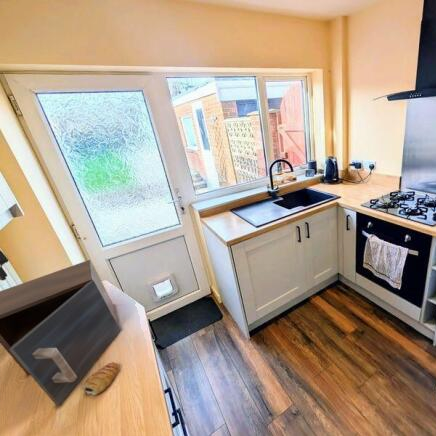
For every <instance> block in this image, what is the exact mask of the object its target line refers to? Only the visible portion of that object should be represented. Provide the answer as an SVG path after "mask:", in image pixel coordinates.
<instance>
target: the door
mask: <svg viewBox="0 0 436 436" xmlns="http://www.w3.org/2000/svg"><path fill="white" fill-rule="evenodd" d="M120 332H121V328H120V326H119V323H118V324H117V323H116V321H115V319H114V317H113V315H112V313H111V312H110V310H109V308H108V306H107V304H106V302H105V300H104V299H103V297H102V295H101V293H100V291H99V289H98V287H97V286H96V284H95V282H94V281H90V282H89V283H88V284H86V285H85V286H84V287H83V288H82V289H80V290H79V291H78V292H77V293H76V294H74V295H73V296H72V297H71V298H70V299H68V300H67V301H66V302H65V303H64V304H62V305H61V306H60V307H59V308H58V309H56V310H55V311H54V312H53V313H52V314H50V315H49V316H48V317H47V318H46V319H44V320H43V321H42V322H41V323H40V324H38V325H37V326H36V327H35V328H34V329H32V330H31V331H30V332H29V333H28V334H26V335H25V336H24V337H23V338H22V339H20V340H19V341H18V342H17V343H16V344H14V345H13V346H12V347H11V348H10V349H9V350H10V351H11V352H12V354H13V355H14V356H15V357H16V358H17V359H18V361H19V362H20V363H21V364H22V365H23V367H24V368H25V369H26V370H27V371H28V373H29V374H30V375H29V376H31V378H33V380H34V381H35V382H36V384H38V386H39V387H40V388H41V389H42V390H43V391H44V393H45V394H46V395H47V396H48V398H49V399H50V400H51V401H52V402H53V403H54V405H55V406H56V407H60V406H61V405H62V404H63V403H64V402H65V400H66V399H67V398H68V397H69V395H70V394H71V393H72V392H73V390H75V388H76V387H77V385H78V384H79V383H80V382H81V380H82V379H83V378H84V377H85V376H86V374H87V373H88V372H89V371H90V369H91V368H92V367H93V366H94V364H95V363H96V362H97V361H98V359H99V358H100V357H101V356H102V354H103V353H104V352H105V351H106V349H107V348H108V347H109V345H110V344H111V343H112V342H113V341H114V339H115V338H116V337H117V336H118V334H119V333H120Z"/></svg>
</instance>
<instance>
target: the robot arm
mask: <svg viewBox="0 0 436 436" xmlns="http://www.w3.org/2000/svg"><path fill="white" fill-rule="evenodd" d="M7 263H9V259H8V257H7V256H6V254H5V253H4V252H3V251H2V250H1V249H0V281H2V282H3V281H6V280H7V277H8V273H7V272H6V271H5V269H4V268H3V266H4V264H7Z"/></svg>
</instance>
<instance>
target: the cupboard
mask: <svg viewBox="0 0 436 436" xmlns="http://www.w3.org/2000/svg"><path fill="white" fill-rule="evenodd" d="M90 281H94V282H95V284H96V286H97V287H98V289H99V291H100V293H101V295H102V297H103V299H104V300H105V302H106V304H107V306H108V308H109V310H110V312H111V313H112V315H113V317H114V319H115V321H116V323H117V324H118V325H119V322H118V317H117V312H116V307H115V304H114V303H113V301H112V299H111V296H110V295H109V293H108V291H107V289H106V287H105V286H104V283H103V281H102V280H101V278H100V276H99V274H98V272H97V270H96V268H95V266H94V264H93V262H92V261H91V259H87V260H85V261H81V262H78V263H76V264H74V265H70V266H68V267H65V268H62V269H59V270H56V271H54V272H53V271H52V272H51V273H48V274H45V275H43V276H39V277H37V278H33V279H31V280H29V281H25V282H22V283H19V284H17V285H14V286H10V287H7V288H6V289H3V290H0V345H1V346H2V347H3V349H4V350H5V351H6V352H7V353H8V355H10V357H11V358H12V360H14V361H15V363H16V364H17V365H18V366H19V367H20V368H21V369H22V371H23V372H24V373H25V374H26V375H27V376H31V375H30V374H29V373H28V371H27V370H26V369H25V368H24V367H23V365H22V364H21V363H20V362H19V361H18V359H17V358H16V357H15V356H14V355H13V354H12V352H11V351H10V350H9V349H10V348H11V347H12V346H13V345H14V344H16V343H17V342H18V341H19V340H20V339H22V338H23V337H24V336H25V335H26V334H28V333H29V332H30V331H31V330H32V329H34V328H35V327H36V326H37V325H38V324H40V323H41V322H42V321H43V320H44V319H46V318H47V317H48V316H49V315H50V314H52V313H53V312H54V311H55V310H56V309H58V308H59V307H60V306H61V305H62V304H64V303H65V302H66V301H67V300H68V299H70V298H71V297H72V296H73V295H74V294H76V293H77V292H78V291H79V290H80V289H82V288H83V287H84V286H85V285H86V284H88V283H89V282H90Z"/></svg>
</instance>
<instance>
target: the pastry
mask: <svg viewBox="0 0 436 436" xmlns="http://www.w3.org/2000/svg"><path fill="white" fill-rule="evenodd" d="M119 369H120V365H119V364H118V363H116V362H115V361H112V362H109V363H107V364H106V365H103V366H102V367H101V368H99V369H98V370H97V371H96V372H93V373H92V374H91V376H90V377H88V378H87V379H86V381H85V384H83V386H82V391H83V392H86V393H87V395H89V394H90V395H91V394H92V396H97V395H98V394H101V393H102V392H104V391H105V390H106V389H107V387H108V386H109V385H110V384H111V383H112V382H113V380H114V379H115V377H116V375H117V374H118V372H119Z"/></svg>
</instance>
